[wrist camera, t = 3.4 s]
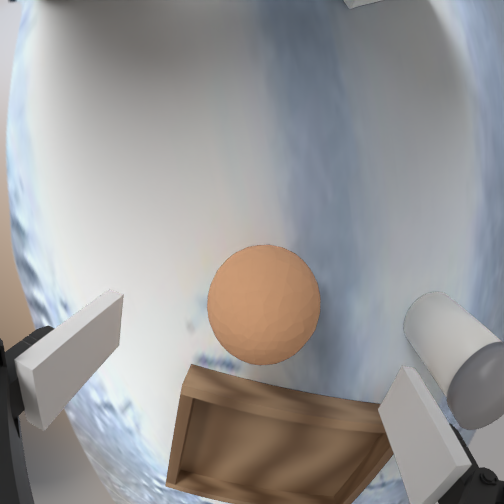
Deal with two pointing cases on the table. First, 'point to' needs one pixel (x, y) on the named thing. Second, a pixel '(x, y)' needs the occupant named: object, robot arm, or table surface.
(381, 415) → the robot arm
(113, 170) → the table surface
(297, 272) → the egg
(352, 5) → the small box
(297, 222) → the table surface
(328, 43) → the table surface
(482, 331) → the shaker
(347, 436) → the tray
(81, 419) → the table surface
